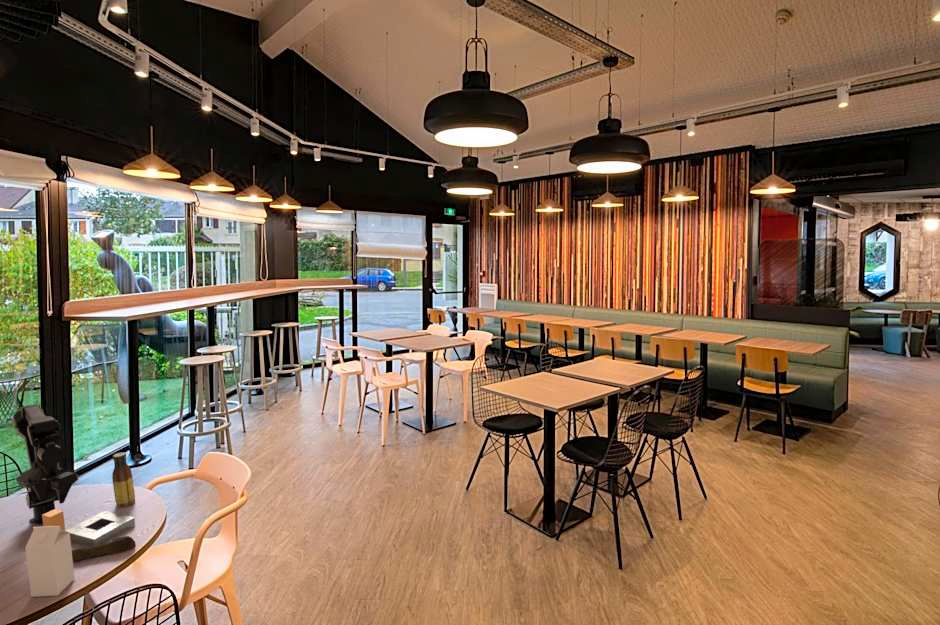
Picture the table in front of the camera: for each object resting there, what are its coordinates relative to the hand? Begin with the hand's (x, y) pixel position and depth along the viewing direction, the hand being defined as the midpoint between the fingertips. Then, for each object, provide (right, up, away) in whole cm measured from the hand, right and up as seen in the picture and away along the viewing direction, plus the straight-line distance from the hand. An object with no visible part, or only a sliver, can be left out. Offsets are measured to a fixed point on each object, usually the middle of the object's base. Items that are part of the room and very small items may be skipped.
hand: (51, 501), depth 173 cm
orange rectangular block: (0, -12, +2) cm, 12 cm away
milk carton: (+20, -16, -25) cm, 36 cm away
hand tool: (+22, -14, -9) cm, 28 cm away
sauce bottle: (+10, -9, +22) cm, 26 cm away
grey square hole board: (+14, -12, +3) cm, 19 cm away
